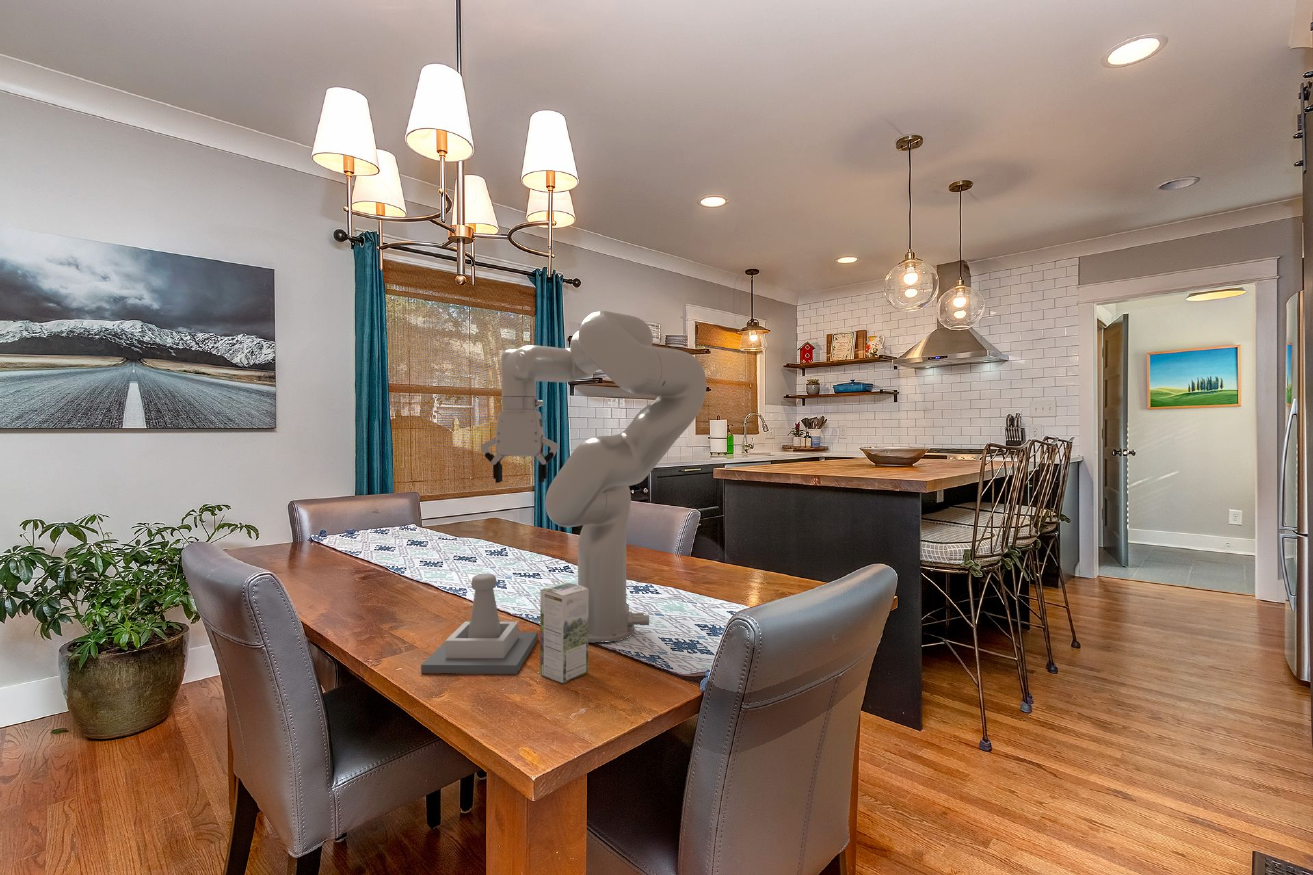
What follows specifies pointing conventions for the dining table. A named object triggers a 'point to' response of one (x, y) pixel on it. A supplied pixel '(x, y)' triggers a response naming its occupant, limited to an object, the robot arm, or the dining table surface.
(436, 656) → the grey square base
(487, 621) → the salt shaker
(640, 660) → the dining table surface
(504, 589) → the dining table surface
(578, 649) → the syrup box
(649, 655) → the dining table surface
